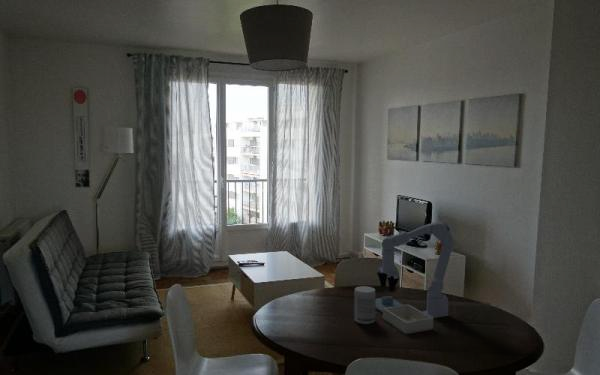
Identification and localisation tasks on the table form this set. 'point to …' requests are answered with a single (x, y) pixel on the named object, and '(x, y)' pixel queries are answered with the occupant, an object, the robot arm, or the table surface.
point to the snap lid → (386, 303)
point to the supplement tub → (364, 304)
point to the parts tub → (408, 319)
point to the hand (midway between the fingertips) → (387, 289)
